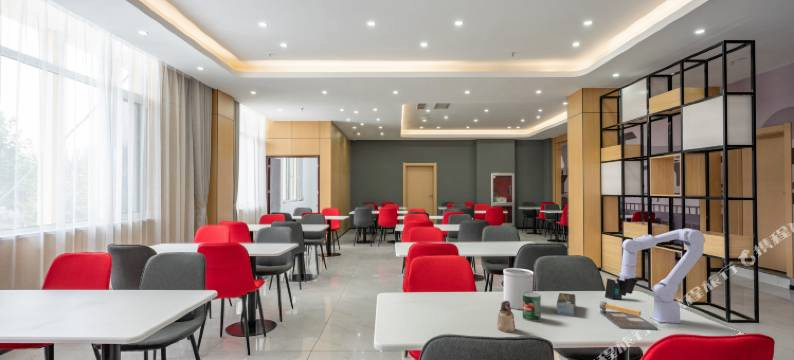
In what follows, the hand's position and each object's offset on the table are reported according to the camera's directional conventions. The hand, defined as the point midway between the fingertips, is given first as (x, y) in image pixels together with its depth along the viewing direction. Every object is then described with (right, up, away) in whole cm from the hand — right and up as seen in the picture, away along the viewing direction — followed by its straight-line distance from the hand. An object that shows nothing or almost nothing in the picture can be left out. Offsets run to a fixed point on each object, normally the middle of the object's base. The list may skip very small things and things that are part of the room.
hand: (625, 294), depth 188 cm
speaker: (+12, -12, +32) cm, 36 cm away
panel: (-3, -10, -6) cm, 12 cm away
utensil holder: (-46, -10, +16) cm, 49 cm away
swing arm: (-4, -8, -1) cm, 9 cm away
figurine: (-61, -10, -19) cm, 65 cm away
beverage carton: (-24, -11, +9) cm, 28 cm away
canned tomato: (-46, -10, -4) cm, 47 cm away
